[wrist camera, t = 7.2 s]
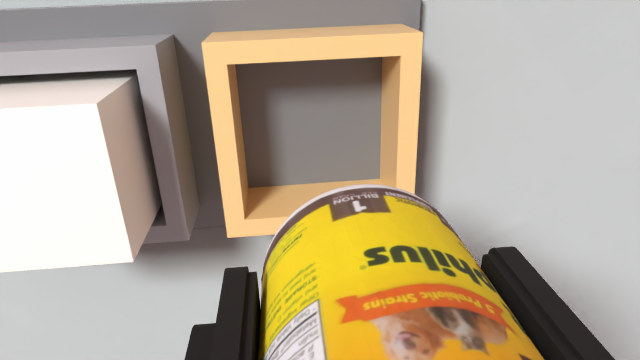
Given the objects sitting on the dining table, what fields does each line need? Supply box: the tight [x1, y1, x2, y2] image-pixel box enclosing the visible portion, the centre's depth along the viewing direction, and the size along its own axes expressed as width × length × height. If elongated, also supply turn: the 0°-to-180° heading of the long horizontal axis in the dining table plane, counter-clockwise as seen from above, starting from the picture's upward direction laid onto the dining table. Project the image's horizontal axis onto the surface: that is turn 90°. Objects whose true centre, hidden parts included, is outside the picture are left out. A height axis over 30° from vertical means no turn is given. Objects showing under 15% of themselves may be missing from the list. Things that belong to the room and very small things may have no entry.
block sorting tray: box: [0, 0, 423, 272], centre depth 23 cm, size 24×13×9 cm, turn 92°
